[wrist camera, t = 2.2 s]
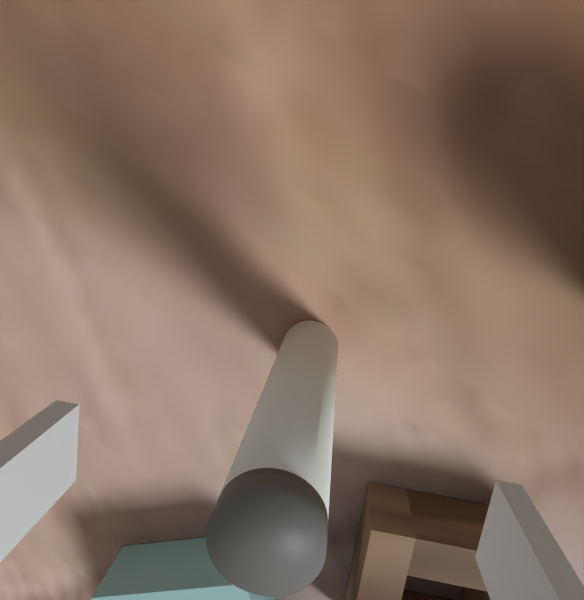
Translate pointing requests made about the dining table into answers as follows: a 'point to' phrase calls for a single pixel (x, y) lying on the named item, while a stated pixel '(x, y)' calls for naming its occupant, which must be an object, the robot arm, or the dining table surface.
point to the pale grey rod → (281, 473)
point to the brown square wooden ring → (415, 544)
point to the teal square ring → (168, 574)
